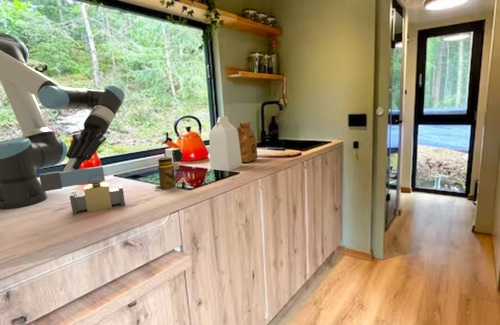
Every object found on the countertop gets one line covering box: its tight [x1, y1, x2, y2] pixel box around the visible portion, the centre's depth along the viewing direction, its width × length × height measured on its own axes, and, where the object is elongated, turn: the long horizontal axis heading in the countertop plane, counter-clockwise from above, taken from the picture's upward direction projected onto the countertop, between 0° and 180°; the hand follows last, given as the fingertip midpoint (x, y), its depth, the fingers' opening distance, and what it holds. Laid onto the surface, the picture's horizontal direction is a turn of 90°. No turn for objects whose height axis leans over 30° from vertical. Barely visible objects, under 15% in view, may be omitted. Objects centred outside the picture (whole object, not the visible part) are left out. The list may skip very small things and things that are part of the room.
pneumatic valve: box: [163, 146, 184, 171], centre depth 155 cm, size 6×12×12 cm, turn 42°
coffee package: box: [236, 121, 258, 164], centre depth 165 cm, size 10×12×22 cm
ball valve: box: [69, 181, 126, 216], centre depth 97 cm, size 15×7×9 cm, turn 117°
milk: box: [208, 116, 243, 172], centre depth 151 cm, size 12×12×26 cm
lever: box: [38, 165, 106, 192], centre depth 93 cm, size 5×17×5 cm, turn 124°
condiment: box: [154, 157, 178, 192], centre depth 118 cm, size 7×8×12 cm
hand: (66, 177), depth 94 cm, fingers closed
